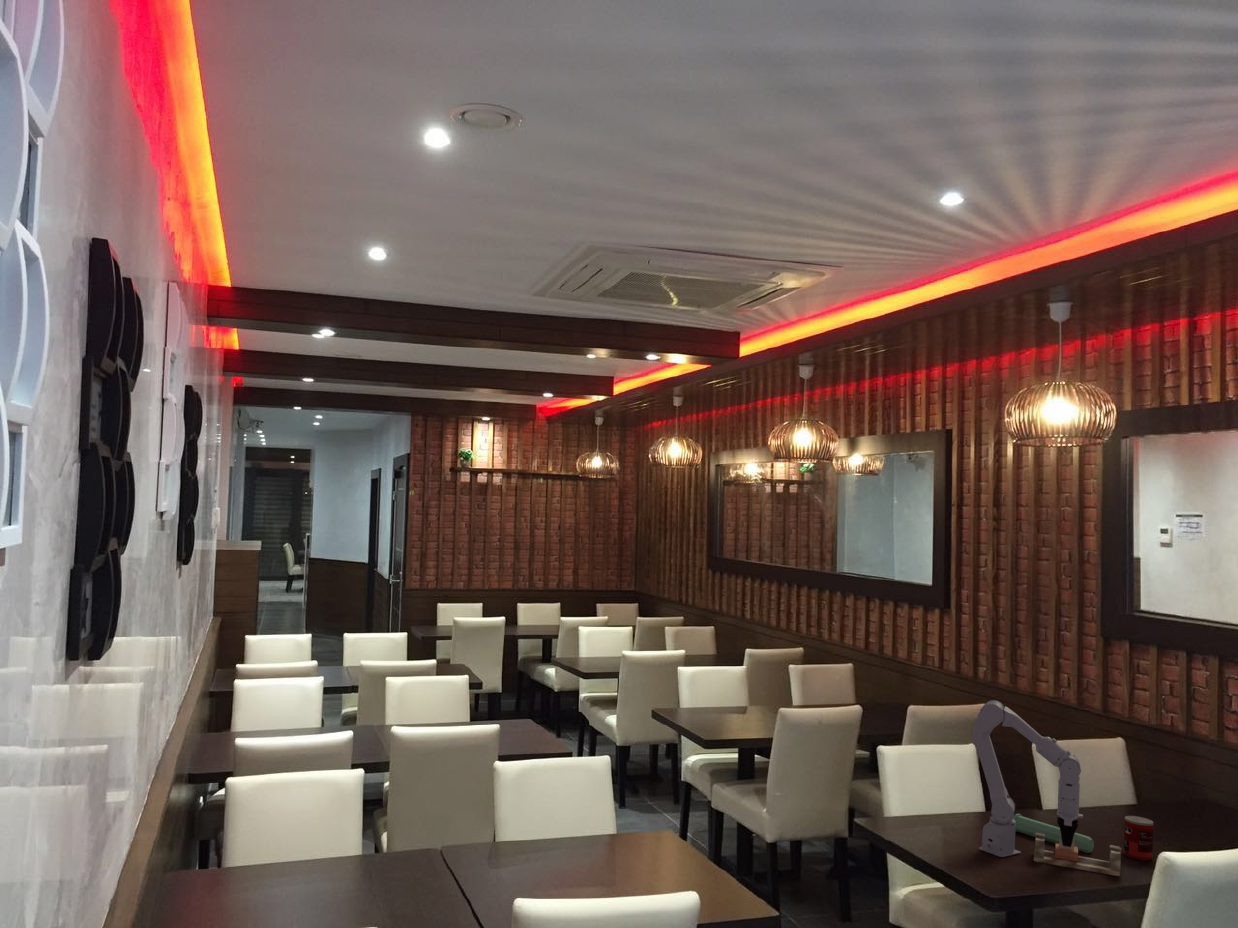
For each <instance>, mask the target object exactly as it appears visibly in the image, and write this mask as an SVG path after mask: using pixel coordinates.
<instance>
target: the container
mask: <svg viewBox="0 0 1238 928" xmlns="http://www.w3.org/2000/svg"><path fill="white" fill-rule="evenodd" d="M1013 819H1014V820H1015V821H1016V826H1015V833H1018V832H1019V833H1021V834H1025V835H1027V836H1031V837H1034V838H1036V837H1035V834H1036V833H1041V834H1045V835H1046V838H1045V841H1047V842H1050V843H1053V844H1056V843H1057V844H1059V839H1060V828H1059V826H1055V825H1052V824H1048V823H1046V822H1042V821H1039V820H1035V819H1032V818H1030V817H1025V816H1023V815H1022V814H1021V813H1016V814H1015V813H1014V817H1013ZM1074 847H1078V852H1079V851H1080V852H1083V853H1085V854H1090V853H1092V852H1093V850H1094V848H1095V841H1094V839H1092V837H1090V836H1088V835H1085V834H1081V833H1078V832H1075V842H1074Z"/></svg>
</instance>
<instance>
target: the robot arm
mask: <svg viewBox="0 0 1238 928" xmlns="http://www.w3.org/2000/svg"><path fill="white" fill-rule="evenodd" d="M1001 723H1002V725H1001V726H1002V727H1009V728H1013V729H1014V730H1016V731H1017V732H1018V733H1019V734H1021V735H1022V736H1023V737H1024V738H1026V739H1028V740H1029V741H1030V742H1031V743H1032V744H1033V745H1035V752H1036V753H1038V754H1039V755H1040V756H1041V757H1042V758H1044V759H1045V760H1046V761H1047V762H1048V763H1050V764H1051V766H1053V767H1056V768H1058V771H1059V779H1058V789H1057V810H1056V815H1057V817H1056V818H1057V826H1058V827H1059V828H1060V831H1061V836H1062V843H1063V846H1067V847H1071V845H1072V841H1073V836H1074V833H1076V831H1077V829H1078V827H1079V819H1083V818H1084V815H1083V813H1082V814H1081V813H1079V812H1080V789H1081V783H1080V775H1081V773H1082V769H1081V762H1080V761H1079V759H1078V758H1077V757H1076V756H1075V755H1074V754H1072V752H1071V751H1070V750H1066V749H1064V748H1063V747H1062V746H1061V745H1059V744H1058V743H1057V742H1058V740H1057V739H1056V738H1054V737H1052V738H1051V737H1050V736H1042V735H1041V734H1040V733H1038V732H1037V730H1036V729H1034V728H1033V727H1032V726H1031V725H1029V724H1028V722H1026V721H1025V720H1024V719H1023V718H1022V717H1020V716H1019V715H1018V714H1017V713H1016V712H1015V711H1013V710H1012V709H1010V707H1007V706H1006V705H1005V706H1004V704H1003V703H1002V702H1000V701H998V700H995V699H991V700H988V701H986V702H985V703H984V705H983V706H982V707H981V708H980V709H979V712H978V713H977V717H976V719H975V723H974V726H973V728H972V735H973V741H974V744H975V747H976V751H977V753H978V756H979V760H980V763H981V767H982V771H983V773H984V777H985V780H986V784H987V786H988V791H989V797H990V801H991V815H990V818H989V821H988V822H987V823H986V824H984V825H983V828H982V835H981V836H982V837H981V846H980V847H979V850H980V851H983V852H986V853H988V854H992V855H994V856H997V857H1000V858H1004V857H1005V858H1006V857H1010V856H1015V855H1020V854H1021V853H1022V851H1020V850H1018V849H1015V847H1016V832H1015V826H1016V821H1015V820H1014V819H1013V817H1014V815H1015V810H1016V804H1015V802H1014V799H1012V798H1011V797H1010V795H1009V792H1008V789H1007V788H1006V786H1005V785H1006V784H1005V782H1004V781H1005V780H1004V778H1003V775H1002V772H1001V768H1000V765H999V762H998V759H997V754H996V752H995V748H994V745H993V743H992V742H993V741H992V739H991V733H992V732H993V730H994V729H995V728H996V727H997V726H998V725H1000V724H1001Z"/></svg>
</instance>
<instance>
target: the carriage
mask: <svg viewBox="0 0 1238 928" xmlns="http://www.w3.org/2000/svg"><path fill="white" fill-rule="evenodd" d="M1075 833H1076V832H1075ZM1075 833H1074V836H1073V841H1072V845H1071V847H1067V846H1063V843H1062V836H1061V831H1060V839H1059V844H1057V843H1055V849H1054V850H1055V851H1054V852H1055V858H1061V859H1066V860H1072V861H1078V856H1079V850H1078V847H1074V842H1075Z"/></svg>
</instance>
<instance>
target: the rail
mask: <svg viewBox="0 0 1238 928" xmlns="http://www.w3.org/2000/svg"><path fill="white" fill-rule="evenodd" d="M1034 838H1035V849H1034V853H1033V862H1036V863H1043V864H1048V865H1053V866H1054V865H1055V866H1060V867H1065V868H1071V869H1076V870H1083V871H1087V872H1094V873H1099V874H1105V875H1109V876H1116V877H1121V863H1122V862H1121V861H1122V860H1121V857H1122V856H1121V852H1122V850H1123V848H1122V847H1120V846H1117V845H1113V844H1110V845H1109V846H1108V847H1109V860H1102V859H1099V858H1098V859H1097V858H1093V857H1092V858H1091V857H1086V856H1080V855H1078V861H1072V860H1066V859H1061V858H1055V851H1051V850H1047V849H1045V841H1046V840H1045V838H1046V835H1045V834H1041V833H1036V834H1035V837H1034Z"/></svg>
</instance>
